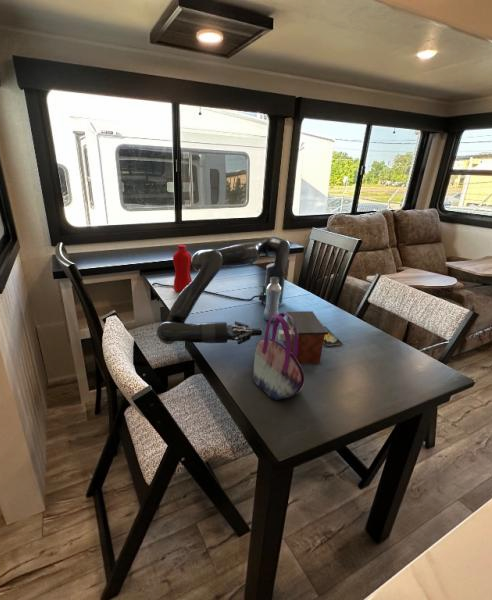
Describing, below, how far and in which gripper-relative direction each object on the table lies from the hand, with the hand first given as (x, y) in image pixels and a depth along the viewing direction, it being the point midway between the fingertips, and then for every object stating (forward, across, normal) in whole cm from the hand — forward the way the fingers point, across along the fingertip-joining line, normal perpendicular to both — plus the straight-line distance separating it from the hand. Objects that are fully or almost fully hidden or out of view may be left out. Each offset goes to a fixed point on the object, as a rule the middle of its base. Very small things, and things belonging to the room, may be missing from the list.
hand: (261, 332), depth 113 cm
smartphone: (+29, +11, +9) cm, 32 cm away
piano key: (+9, 0, +3) cm, 10 cm away
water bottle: (-31, +63, +9) cm, 71 cm away
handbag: (+2, -19, +9) cm, 21 cm away
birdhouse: (+16, 0, +9) cm, 18 cm away
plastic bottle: (+10, +26, +9) cm, 30 cm away
